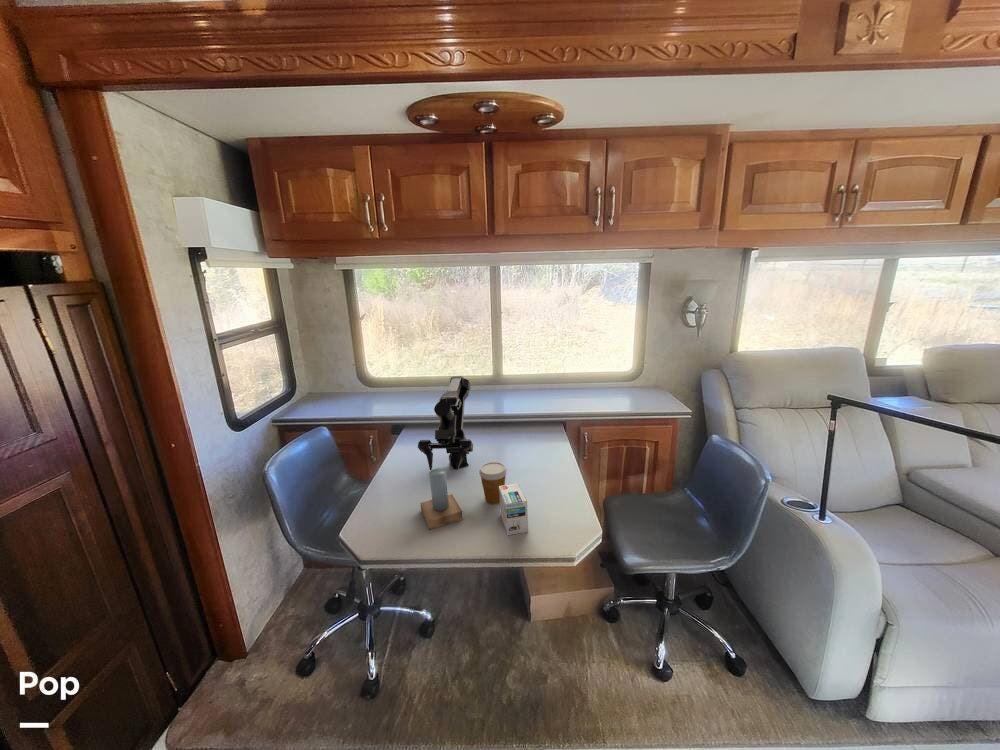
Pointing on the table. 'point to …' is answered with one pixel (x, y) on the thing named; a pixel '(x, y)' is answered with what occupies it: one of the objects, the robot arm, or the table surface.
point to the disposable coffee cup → (492, 480)
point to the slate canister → (439, 489)
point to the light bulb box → (513, 509)
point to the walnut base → (441, 513)
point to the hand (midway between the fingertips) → (443, 470)
